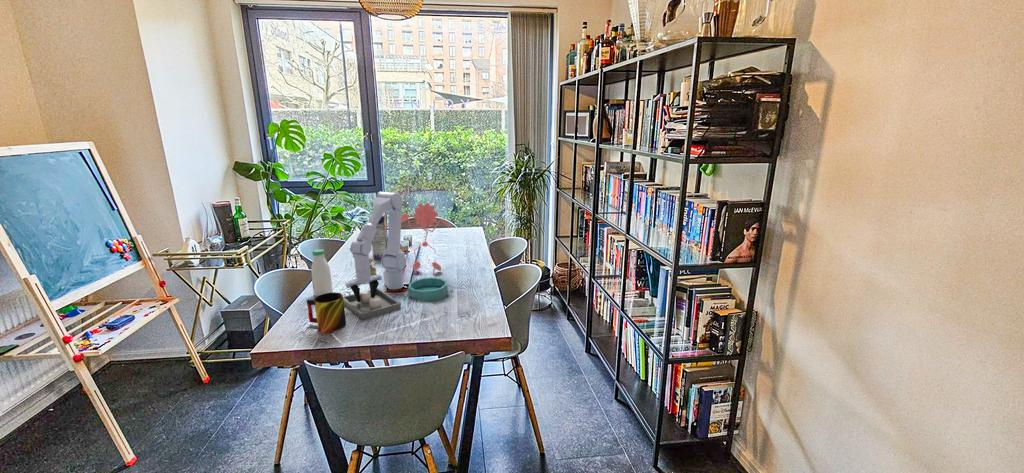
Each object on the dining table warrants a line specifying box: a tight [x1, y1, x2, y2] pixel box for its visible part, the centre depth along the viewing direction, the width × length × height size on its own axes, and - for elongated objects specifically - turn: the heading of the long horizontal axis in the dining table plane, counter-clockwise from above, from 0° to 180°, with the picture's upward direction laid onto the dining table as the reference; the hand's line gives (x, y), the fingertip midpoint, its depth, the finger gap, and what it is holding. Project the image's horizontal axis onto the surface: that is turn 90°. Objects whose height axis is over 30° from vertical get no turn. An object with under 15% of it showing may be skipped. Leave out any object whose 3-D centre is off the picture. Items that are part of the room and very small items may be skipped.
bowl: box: [407, 277, 449, 302], centre depth 192 cm, size 17×17×4 cm
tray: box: [343, 287, 402, 321], centre depth 179 cm, size 22×16×3 cm
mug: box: [306, 292, 347, 335], centre depth 160 cm, size 10×14×12 cm
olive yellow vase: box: [369, 258, 377, 276], centre depth 211 cm, size 7×7×10 cm
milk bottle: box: [310, 248, 334, 297], centre depth 191 cm, size 8×8×20 cm
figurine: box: [401, 202, 451, 276], centre depth 219 cm, size 15×26×35 cm, turn 82°
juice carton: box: [368, 211, 388, 260], centre depth 245 cm, size 12×8×24 cm, turn 10°
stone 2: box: [369, 298, 381, 311], centre depth 175 cm, size 4×4×4 cm
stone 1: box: [360, 290, 371, 304], centre depth 182 cm, size 4×4×4 cm
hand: (365, 299), depth 183 cm, fingers open, 5 cm apart
